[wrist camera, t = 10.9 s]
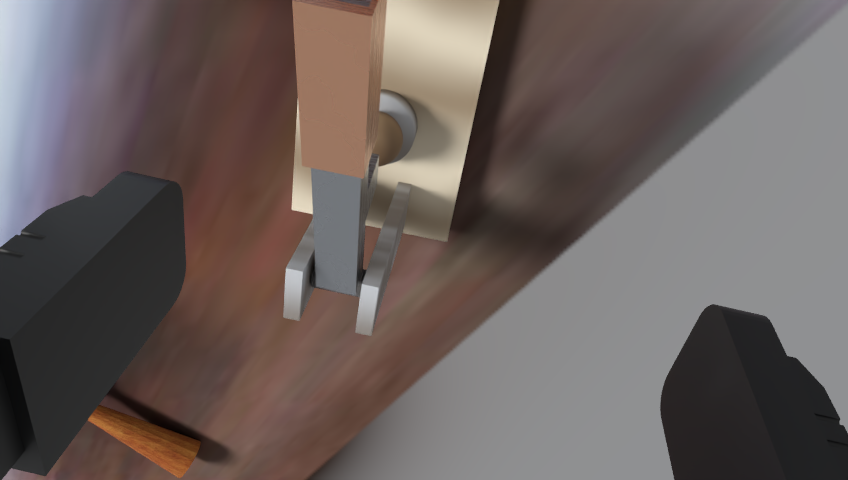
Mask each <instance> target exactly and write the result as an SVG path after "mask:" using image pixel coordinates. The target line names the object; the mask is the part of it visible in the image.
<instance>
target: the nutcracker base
mask: <svg viewBox="0 0 848 480" xmlns="http://www.w3.org/2000/svg"><path fill="white" fill-rule="evenodd" d="M498 5H499V0H387V9H386V23H385V38H384V52H383V66H382V80H381V94H380V109H379V123H378V136H377V139H376V143H375V146H374V149H373V152H372V153H374V154H379V164H378V177H377V186H376V189H375V192H374V195H373V199H372V202H371V205H370V209H369V212H368V215H367V218H366V223H365V225H368V226H373V227H377V228H382V229H381V232H380V235H379V238H378V240H377V243H376V246H375V249H374V252H373V254H372V257H371V260H370V263H369V266H368V268H367V271H366V274H365V277H364V280H363V282H362V287H361V294H360V302H359V309H358V316H357V324H356V331H355V333H360V334H364V335H369V336H371V335H372V332H373V329H374V325H375V322H376V319H377V315H378V312H379V309H380V305H381V302H382V299H383V296H384V292H385V289H386V286H387V282H388V279H389V276H390V272H391V269H392V266H393V262H394V259H395V256H396V252H397V249H398V246H399V242H400V239H401V236H402V233H406V234H411V235H416V236H421V237H425V238H430V239H435V240H440V241H445V242H447V239H448V234H449V230H450V225H451V221H452V216H453V212H454V207H455V202H456V198H457V193H458V189H459V184H460V179H461V175H462V170H463V166H464V161H465V156H466V152H467V147H468V143H469V138H470V133H471V129H472V124H473V120H474V115H475V110H476V106H477V101H478V97H479V92H480V87H481V83H482V78H483V74H484V69H485V64H486V60H487V55H488V51H489V46H490V41H491V37H492V32H493V28H494V23H495V18H496V14H497V9H498ZM292 210H296V211H300V212H305V213H310V214H313V203H312V181H311V168H309V167H305V166H302V156H301V139H300V123H299V106H297V124H296V141H295V159H294V176H293V194H292ZM314 264H315V249H314V226H313V220H312V222H311V223H310V225H309V227H308V229H307V231H306V233H305V234H304V236H303V238H302V240H301V242H300V243H299V245H298V247H297V249H296V251H295V253H294V254H293V256H292V258H291V260H290V262H289V264H288V265H287V267H286V278H285V296H284V314H283V317H284V318H289V319H293V320H298V321H299V320H300V318H301V316H302V314H303V312H304V309H305V307H306V305H307V303H308V301H309V299H310V296H311V294H312V292H313V290H314V287H311V275H312V271H313V267H314Z"/></svg>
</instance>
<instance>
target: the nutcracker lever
mask: <svg viewBox="0 0 848 480" xmlns="http://www.w3.org/2000/svg"><path fill="white" fill-rule="evenodd" d="M292 5H293V22H294V38H295V55H296V72H297V89H298V106H299V123H300V139H301V156H302V166H305V167H309V168H311V181H312V203H313V226H314V249H315V264H314V267H313V271H312V275H311V287H314V288H319V289H323V290H328V291H333V292H338V293H342V294H347V295H352V296H357V297H360V294H361V287H362V282H363V280H364V277H365V274H366V271H367V270H364V269H363V257H364V240H365V223H366V218H367V215H368V212H369V209H370V205H371V202H372V199H373V195H374V192H375V189H376V186H377V177H378V164H379V154H374V153H372V152H373V149H374V146H375V143H376V139H377V136H378V123H379V109H380V94H381V80H382V66H383V52H384V38H385V23H386V9H387V0H292Z"/></svg>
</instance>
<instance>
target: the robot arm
mask: <svg viewBox="0 0 848 480" xmlns="http://www.w3.org/2000/svg"><path fill="white" fill-rule="evenodd" d="M185 271H186V254H185V233H184V212H183V195H182V190H181V187H180V186H179V184H178V183H176V182H173V181H169V180H164V179H160V178H155V177H151V176H147V175H142V174H138V173H133V172H129V171H126V172H122V173H121V174H119V175H118V176H117V177H115V178H114V179H113V180H112V181H111V182H110V183H108V184H107V185H106V186H105V187H104V188H102V189H101V190H100V191H99V192H98V193H97V194H95V195H94V196H93V197H88V196H84V195H83V196H80V197H78V198H75V199H73V200H70V201H68V202H65V203H63V204H61V205H58V206H56V207H53V208H51V209H48V210H47V211H45V212H44V213H43V214H42V215H40V216H39V217H38V218H37V219H35V220H34V221H33V222H32V223H30V224H29V225H28V226H27V227H25V228H24V229H23V230H22V231H21V235H20V236H19V235H15V236H14V237H13V238H12V239H10V240H9V241H8V242H7V243H5V244H4V245H3V246H2V247H0V480H2V479H3V477H4V476H5V475H6V474H7V472H8V471H9V470H10V469H11V468H13V469H17V470H22V471H26V472H30V473H34V474H38V475H43V476H46V475H47V474H48V472H49V471H50V470H51V468H52V467H53V465H54V464H55V463H56V461H57V460H58V459H59V457H60V456H61V455H62V453H63V452H64V451H65V449H66V448H67V447H68V445H69V444H70V443H71V441H72V440H73V439H74V437H75V436H76V435H77V433H78V432H79V431H80V429H81V428H82V427H83V425H84V424H85V423H86V421H87V420H88V419H89V417H90V416H91V415H92V413H93V412H94V410H95V409H96V408H97V406H98V405H99V404H100V402H101V401H102V400H103V398H104V397H105V396H106V394H107V393H108V392H109V390H110V389H111V388H112V386H113V385H114V384H115V382H116V381H117V380H118V378H119V377H120V376H121V374H122V373H123V372H124V370H125V369H126V368H127V366H128V365H129V364H130V362H131V361H132V360H133V358H134V357H135V356H136V354H137V353H138V351H139V350H140V349H141V347H142V346H143V345H144V343H145V342H146V341H147V339H148V338H149V337H150V335H151V334H152V333H153V331H154V330H155V329H156V327H157V326H158V325H159V323H160V322H161V321H162V319H163V318H164V317H165V315H166V314H167V313H168V311H169V310H170V309H171V307H172V306H173V304H174V303H175V301H176V300H177V298H178V296H179V293H180V291H181V288H182V285H183V282H184V277H185ZM660 410H661V418H662V423H663V428H664V433H665V437H666V442H667V447H668V452H669V456H670V461H671V466H672V470H673V475H674V479H675V480H848V433H847V431H846V429H845V427H844V426H843V425H840V424H839V421H840V418H839V416H838V414H837V412H836V410H835V408H834V406H833V404H832V402H831V400H830V398H829V396H828V394H827V392H826V390H825V388H824V387H823V386H822V385H821V384H820V383H819V382H818V381H817V380H816V379H815V378H814V376H812V374H811V373H810V372H809V371H808V370H807V369H806V368H805V367H804V366H803V365H802V364H801V363H800V362H799V360H798V359H796V358H793V357H789V356H787V355H786V353H785V351H784V349H783V347H782V344H781V342H780V340H779V338H778V336H777V334H776V332H775V329H774V327H773V325H772V323H771V322H770V320H769V319H768V318H767V317H765V316H763V315H759V314H754V313H750V312H745V311H741V310H736V309H732V308H727V307H723V306H718V305H714V304H713V305H710V306H708V307H707V308H705V309H704V311H703V312H702V313H701V315H700V317H699V319H698V320H697V322H696V324H695V326H694V327H693V329H692V331H691V333H690V335H689V337H688V339H687V340H686V342H685V344H684V346H683V348H682V349H681V351H680V353H679V355H678V357H677V359H676V360H675V362H674V364H673V366H672V368H671V370H670V371H669V373H668V375H667V377H666V380H665V383H664V386H663V390H662V395H661V409H660Z"/></svg>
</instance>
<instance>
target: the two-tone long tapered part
mask: <svg viewBox="0 0 848 480" xmlns="http://www.w3.org/2000/svg"><path fill="white" fill-rule="evenodd" d="M88 421H90V422H92V423H93V424H95V425H96V426H98V427H99V428H101V429H103V430H104V431H106V432H107V433H109V434H110V435H112V436H114V437H115V438H117V439H118V440H120V441H121V442H123V443H125V444H126V445H128V446H129V447H131V448H132V449H134V450H136V451H137V452H139V453H140V454H142V455H143V456H145V457H147V458H148V459H150V460H151V461H153V462H154V463H156V464H158V465H159V466H161V467H162V468H164V469H165V470H167V471H169V472H170V473H172V474H173V475H175V476H176V477H178V478H181V477H182V476H183V475H184V474H185V472H186V471H187V470H188V468H189V467H190V465H191V464H192V462H193V460H194V458H195V456H196V455H197V452H198V450H199V448H200V444H201V442H200V441H199V440H196V439H193V438H190V437H187V436H185V435H182V434H179V433H176V432H174V431H171V430H168V429H165V428H162V427H160V426H157V425H154V424H151V423H148V422H146V421H143V420H140V419H137V418H135V417H132V416H129V415H126V414H123V413H121V412H118V411H115V410H112V409H110V408H107V407H104V406H101V405H98V406H97V408H96V409H95V410H94V412H93V413H92V415H91V416H90V417H89V419H88Z"/></svg>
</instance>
